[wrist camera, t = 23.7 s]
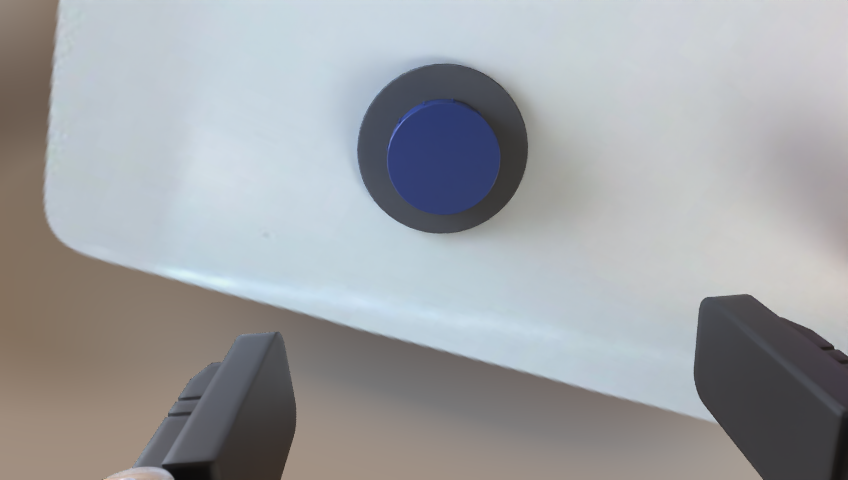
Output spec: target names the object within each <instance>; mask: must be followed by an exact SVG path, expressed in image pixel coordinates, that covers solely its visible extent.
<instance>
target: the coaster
mask: <svg viewBox="0 0 848 480" xmlns="http://www.w3.org/2000/svg"><path fill="white" fill-rule="evenodd" d="M452 98H453V99H454V100H455V101H459V102H462V103H464V104H466V105H468V106H470V107H472V108H473V109H474V110H476V111H480V113H481V114H482V117H483V118H484V119H485V120H486V122H487V123H488V124H489V126H490V127H491V128H492V130H493V132H494V134H495V136H496V137H497V138H498V144H499V149H500V167H499V172H498V175H497V178H496V181H495V183H494V185H493V187H492V188H491V190H490V191H489V192H488V194H487V195H486V196H485V197H484V198H483V199H482V200H481V201H480V202H479V203H477V204H476V205H475V206H473V207H471V208H469V209H467V210H465V211H463V212H459V213H456V214H450V215H436V214H430V213H426V212H423V211H421V210H419V209H417V208H415V207H413V206H412V205H410V204H409V203H407V202H406V201H405V200H404V199H403V198H402V197H401V196H400V195H399V193H398V192H397V191H396V189H395V187H394V186H393V184H392V181H391V179H390V178H389V177H390V176H389V172H388V167H387V153H388V150H386V149H387V145H388V144H389V143H390V139H391V136H392V133H393V131H394V129H395V127H396V125H397V124H398V121H399V118H402V117H403V116H404V115H405V114H406V113H407V112H408V111H410V110H411V109H412V108H414V107H416V106H417V105H419V104H422V103H423V102H422V101H425V102H427V101H430V100H436V99H449V100H451V99H452ZM357 151H358V163H359V168H360V172H361V175H362V178H363V181H364V183H365V186H366V188H367V190H368V192H369V193H370V195H371V196H372V198H373V199H374V201H375V202H376V203H377V204H378V205H379V206H380V208H381V209H382V210H384V211H385V212H386V213H387V214H388V215H389V216H391V217H392V218H394V219H395V220H396V221H398V222H400V223H402V224H404V225H406V226H408V227H410V228H413V229H416V230H419V231H424V232H429V233H454V232H460V231H463V230H467V229H470V228H473V227H475V226H478V225H480V224H482V223H483V222H485V221H487V220H489V219H490V218H491V217H493V216H494V215H495V214H497V213H498V212H499V211H500V210H501V209H502V208H503V207H504V206H505V205H506V204H507V203H508V201H509V200H510V199H511V198H512V196H513V195H514V193H515V191H516V190H517V188H518V186H519V184H520V182H521V180H522V177H523V174H524V171H525V168H526V162H527V154H528V142H527V133H526V128H525V124H524V121H523V119H522V116H521V113H520V111H519V109H518V108H517V106H516V104H515V102H514V101H513V100H512V98H511V97H510V95H509V94H508V93H507V92H506V91H505V90H504V89H503V88H502V87H501V86H500V85H499V84H498V83H496V82H495V81H494V80H493V79H491V78H490V77H488V76H486V75H484V74H483V73H481V72H479V71H476V70H474V69H471V68H468V67H464V66H461V65H454V64H433V65H426V66H422V67H419V68H416V69H413V70H410V71H408V72H406V73H404V74H402V75H400V76H399V77H397V78H396V79H394V80H393V81H391V82H390V83H389V84H388V85H387V86H385V87H384V88H383V89H382V91H381V92H380V93H379V94H378V95H377V96H376V97H375V99H374V100H373V102H372V103H371V105H370V106H369V108H368V110H367V112H366V114H365V116H364V119H363V121H362V124H361V127H360V132H359V137H358V148H357Z"/></svg>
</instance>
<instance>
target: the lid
mask: <svg viewBox="0 0 848 480" xmlns="http://www.w3.org/2000/svg"><path fill="white" fill-rule="evenodd" d="M422 102H423V103H422V104H419V105H417V106H416V107H414V108H412V109H411V110H410V111H408V112H407V113H406V114H405V115H404V116H403V117H402V118H399V121H398V124H397V125H396V127H395V129H394V131H393V133H392V136H391V139H390V143H389V144H388V145H387V149H386V150H388V153H387V167H388V172H389V176H390V177H389V178H390V179H391V181H392V184H393V186H394V187H395V189H396V191H397V192H398V193H399V195H400V196H401V197H402V198H403V199H404V200H405V201H406V202H407V203H409V204H410V205H412V206H413V207H415V208H417V209H419V210H421V211H423V212H426V213H430V214H436V215H450V214H456V213H459V212H463V211H465V210H467V209H469V208H471V207H473V206H475V205H476V204H477V203H479V202H480V201H481V200H482V199H483V198H484V197H485V196H486V195H487V194H488V192H489V191H490V190H491V188H492V187H493V185H494V183H495V181H496V178H497V175H498V172H499V167H500V149H499V144H498V138H497V137H496V136H495V134H494V132H493V130H492V128H491V127H490V126H489V124H488V123H487V122H486V120H485V119H484V118H483V117H482V114H481V113H480V111H476V110H474V109H473V108H472V107H470V106H468V105H466V104H464V103H462V102H459V101H455V100H454V99H453V98H452V99H451V100H449V99H436V100H430V101H427V102H425V101H422Z"/></svg>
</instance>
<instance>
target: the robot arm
mask: <svg viewBox="0 0 848 480" xmlns="http://www.w3.org/2000/svg"><path fill="white" fill-rule="evenodd" d="M694 380H695V385H696V389H697V392H698V395H699V397H700V399H701V401H702V402H703V404H704V405H705V406H706V408H707V409H708V410H709V411H710V413H711V414H712V415H713V417H714V418H715V419H716V420H717V422H718V423H719V424H720V425H721V427H722V428H723V429H724V430H725V432H726V433H727V434H728V435H729V437H730V438H731V439H732V440H733V442H734V443H735V444H736V445H737V447H738V448H739V449H740V451H741V452H742V453H743V454H744V456H745V457H746V458H747V460H748V461H749V462H750V463H751V464H752V466H753V467H754V468H755V469H756V471H757V472H758V473H759V475H760V476H761V477H762V479H763V480H848V356H847V355H845V354H844V353H842V352H841V351H840V350H835V349H834V346H833V345H832V344H830V343H829V342H828V341H826V340H825V339H823V338H822V337H821V336H819V335H818V334H817V333H815V332H814V331H813V330H811V329H808V328H806V327H804V326H801V325H799V324H796V323H794V322H792V321H789V320H787V319H785V318H782V317H779V316H777V315H776V314H775V313H774V312H772V311H771V310H770V309H768V308H767V307H766V306H764V305H763V304H762V303H760V302H759V301H758V300H756V299H755V298H754V297H752V296H751V295H748V294H742V295H730V296H718V297H707V298H705V299H703V301H702V302H701V304H700V308H699V316H698V327H697V338H696V350H695V361H694ZM295 427H296V403H295V397H294V392H293V387H292V382H291V376H290V371H289V366H288V360H287V355H286V351H285V345H284V341H283V338H282V335H281V334H280V333H279V332H269V333H256V334H244V335H239V336H238V337H237V338H236V340H235V342H234V344H233V345H232V347H231V348H230V350H229V352H228V353H227V355H226V357H225V358H224V360H223V362H217V363H211V364H210V365H208V366H207V367H206V368H204V369H203V370H202V371H201V372H199V373H198V374H197V375H195V376H194V377H193V378H192V379H190V381H189V382H188V384H187V385H186V387H185V388H184V390H183V391H182V393H181V394H180V396H179V397H178V402H175V404H174V405H173V406H172V408H171V409H170V411H169V413H168V417H166V418H165V419H164V420H163V422H162V423H161V425H160V426H159V428H158V429H157V431H156V432H155V434H154V435H153V437H152V438H151V440H150V441H149V443H148V444H147V446H146V448H145V449H144V450H143V452H142V453H141V455H140V457H139V458H138V460H137V461H136V463H135V464H134V466H133V467H132V469H127V470H124V471H121V472H118V473H115V474H113V475H111V476H108V477H106V478H104V479H102V480H281V476H282V473H283V470H284V466H285V463H286V460H287V456H288V453H289V450H290V447H291V443H292V440H293V437H294V433H295Z"/></svg>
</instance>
